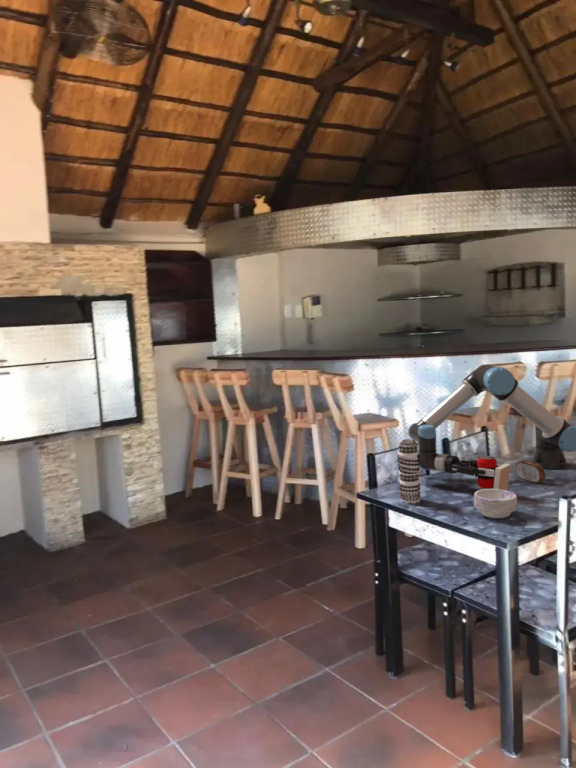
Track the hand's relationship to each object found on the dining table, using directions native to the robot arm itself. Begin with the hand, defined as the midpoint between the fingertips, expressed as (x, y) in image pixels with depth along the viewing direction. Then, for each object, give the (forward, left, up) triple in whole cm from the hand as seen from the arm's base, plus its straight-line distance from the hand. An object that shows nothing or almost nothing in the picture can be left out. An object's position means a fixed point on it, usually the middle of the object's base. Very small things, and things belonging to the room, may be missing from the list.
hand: (498, 471), depth 246 cm
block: (0, 0, -11) cm, 11 cm away
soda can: (+4, -2, -7) cm, 9 cm away
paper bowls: (+3, +21, -11) cm, 24 cm away
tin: (-15, -24, -11) cm, 30 cm away
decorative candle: (+35, +6, -11) cm, 37 cm away
